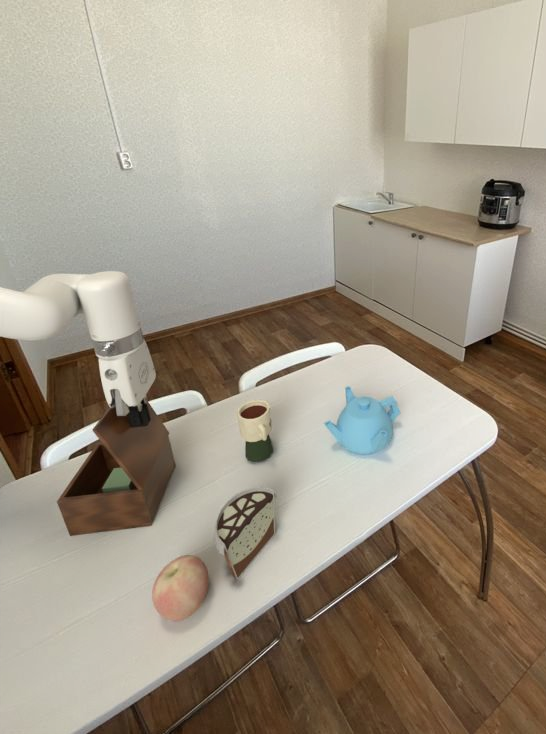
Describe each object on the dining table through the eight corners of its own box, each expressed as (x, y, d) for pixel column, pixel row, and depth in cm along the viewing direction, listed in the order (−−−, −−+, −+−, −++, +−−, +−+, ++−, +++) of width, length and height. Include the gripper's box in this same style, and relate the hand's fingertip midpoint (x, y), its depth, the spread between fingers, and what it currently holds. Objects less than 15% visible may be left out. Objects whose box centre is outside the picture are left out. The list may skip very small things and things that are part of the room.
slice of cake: (257, 512, 76) (251, 474, 72) (280, 527, 73) (276, 488, 70) (205, 569, 66) (196, 528, 63) (230, 589, 63) (221, 547, 60)
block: (108, 507, 77) (101, 488, 75) (119, 486, 81) (113, 468, 80) (134, 504, 77) (128, 485, 76) (144, 483, 82) (139, 465, 80)
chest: (69, 536, 72) (56, 501, 69) (107, 473, 86) (97, 442, 83) (151, 526, 74) (141, 492, 71) (175, 465, 87) (168, 435, 84)
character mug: (283, 461, 88) (278, 415, 83) (254, 477, 84) (247, 430, 79) (264, 434, 96) (259, 391, 92) (236, 447, 92) (229, 403, 88)
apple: (202, 567, 66) (195, 535, 64) (219, 605, 61) (212, 572, 58) (153, 602, 61) (142, 568, 59) (166, 646, 56) (155, 612, 53)
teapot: (385, 469, 85) (386, 430, 82) (324, 453, 90) (321, 415, 86) (401, 423, 99) (402, 388, 95) (347, 411, 104) (346, 378, 100)
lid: (91, 430, 65) (95, 428, 65) (129, 379, 78) (132, 378, 78) (139, 491, 70) (142, 489, 70) (166, 434, 84) (169, 433, 84)
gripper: (122, 361, 61) (146, 451, 67) (156, 320, 75) (173, 397, 81) (71, 365, 60) (100, 456, 67) (116, 323, 74) (136, 401, 81)
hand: (140, 423), depth 74 cm, fingers closed
